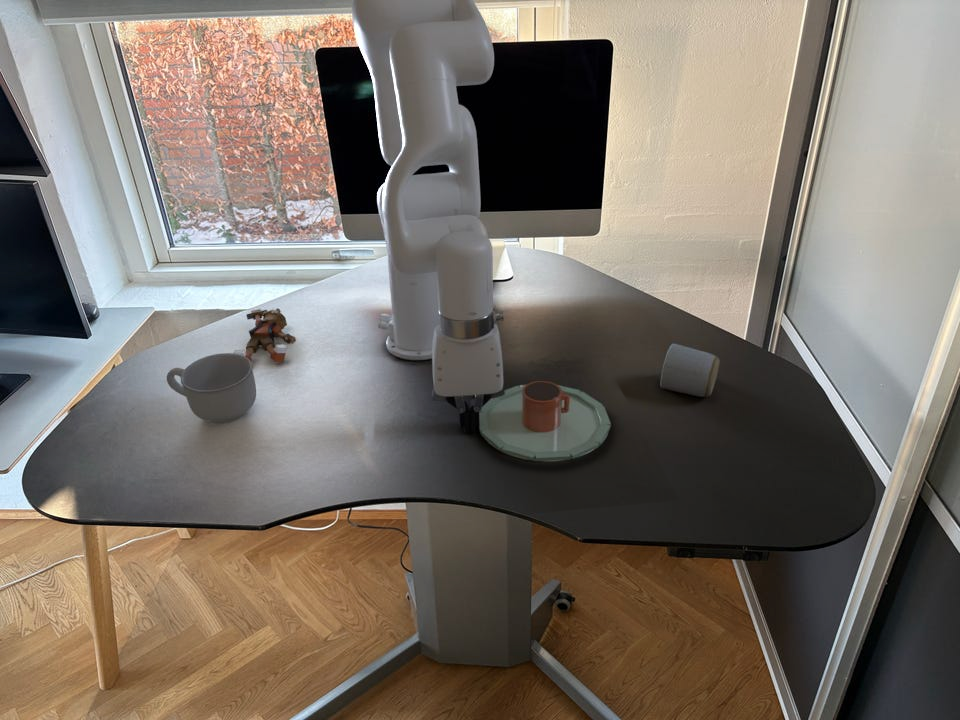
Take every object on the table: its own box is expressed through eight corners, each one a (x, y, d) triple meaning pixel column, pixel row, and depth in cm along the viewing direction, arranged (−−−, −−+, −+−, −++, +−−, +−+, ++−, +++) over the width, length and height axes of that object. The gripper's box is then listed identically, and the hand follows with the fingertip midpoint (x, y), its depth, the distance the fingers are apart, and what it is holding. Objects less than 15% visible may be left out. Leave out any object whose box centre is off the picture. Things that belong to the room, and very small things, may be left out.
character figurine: (215, 352, 127) (246, 299, 142) (221, 374, 130) (251, 320, 145) (282, 352, 127) (306, 299, 141) (287, 375, 130) (310, 320, 144)
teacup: (273, 400, 119) (265, 358, 115) (233, 437, 110) (223, 392, 106) (203, 387, 123) (193, 346, 119) (159, 421, 114) (147, 378, 110)
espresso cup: (526, 434, 108) (526, 403, 105) (518, 412, 113) (518, 382, 110) (573, 429, 109) (575, 398, 106) (563, 407, 114) (565, 378, 111)
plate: (455, 445, 107) (454, 436, 107) (510, 382, 123) (510, 373, 122) (583, 482, 100) (583, 472, 99) (625, 410, 115) (626, 400, 114)
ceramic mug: (708, 407, 115) (715, 365, 112) (657, 396, 118) (662, 354, 115) (719, 377, 124) (726, 337, 120) (671, 367, 127) (677, 328, 123)
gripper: (515, 306, 104) (514, 412, 113) (412, 312, 103) (419, 419, 112) (523, 330, 98) (521, 440, 107) (412, 336, 97) (420, 448, 106)
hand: (469, 429), depth 109 cm, fingers closed
